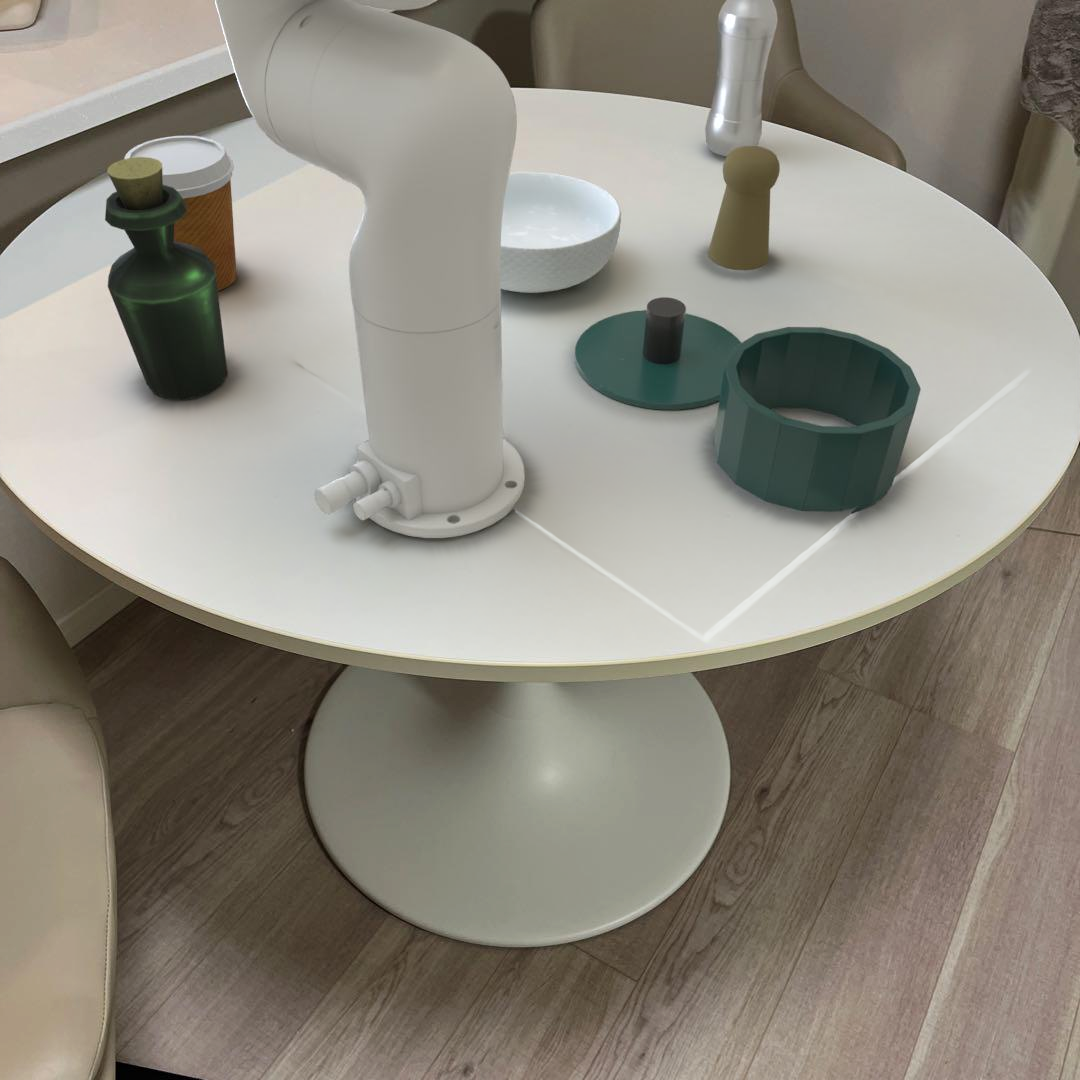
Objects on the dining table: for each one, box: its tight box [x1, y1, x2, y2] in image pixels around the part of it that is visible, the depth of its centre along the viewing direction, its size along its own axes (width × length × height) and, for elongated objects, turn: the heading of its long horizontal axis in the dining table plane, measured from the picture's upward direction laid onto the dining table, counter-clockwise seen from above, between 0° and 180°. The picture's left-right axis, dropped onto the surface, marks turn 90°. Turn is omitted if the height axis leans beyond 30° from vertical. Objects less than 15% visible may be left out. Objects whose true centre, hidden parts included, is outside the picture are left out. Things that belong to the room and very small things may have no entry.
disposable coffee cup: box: [123, 135, 238, 292], centre depth 96 cm, size 10×10×12 cm
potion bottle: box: [104, 157, 228, 400], centre depth 82 cm, size 8×8×18 cm
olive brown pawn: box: [707, 146, 781, 271], centre depth 101 cm, size 6×6×11 cm
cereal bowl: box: [501, 171, 622, 294], centre depth 99 cm, size 17×17×7 cm
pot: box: [712, 326, 922, 514], centre depth 78 cm, size 14×14×8 cm
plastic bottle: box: [704, 0, 779, 157], centre depth 118 cm, size 6×7×20 cm
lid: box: [574, 296, 742, 411], centre depth 88 cm, size 15×15×6 cm
